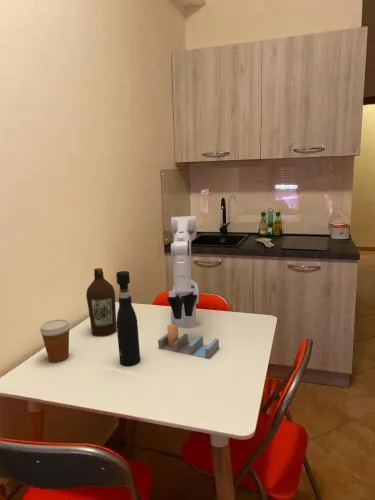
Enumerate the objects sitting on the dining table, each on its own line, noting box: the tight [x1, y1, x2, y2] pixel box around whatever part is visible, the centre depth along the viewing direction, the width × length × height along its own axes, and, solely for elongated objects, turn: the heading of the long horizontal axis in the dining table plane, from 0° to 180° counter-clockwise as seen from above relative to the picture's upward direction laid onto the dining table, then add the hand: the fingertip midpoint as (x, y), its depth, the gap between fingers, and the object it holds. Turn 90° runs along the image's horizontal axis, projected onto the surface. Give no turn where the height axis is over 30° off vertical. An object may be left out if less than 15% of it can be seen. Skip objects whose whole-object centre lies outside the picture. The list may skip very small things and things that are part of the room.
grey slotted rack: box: [157, 332, 220, 360], centre depth 125 cm, size 19×8×4 cm, turn 62°
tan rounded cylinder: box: [166, 323, 180, 348], centre depth 127 cm, size 4×4×7 cm
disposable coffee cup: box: [39, 319, 71, 364], centre depth 124 cm, size 10×10×12 cm
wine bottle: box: [115, 270, 141, 367], centre depth 116 cm, size 6×6×30 cm
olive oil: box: [85, 267, 117, 337], centre depth 143 cm, size 11×11×25 cm
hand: (183, 317), depth 125 cm, fingers open, 7 cm apart
